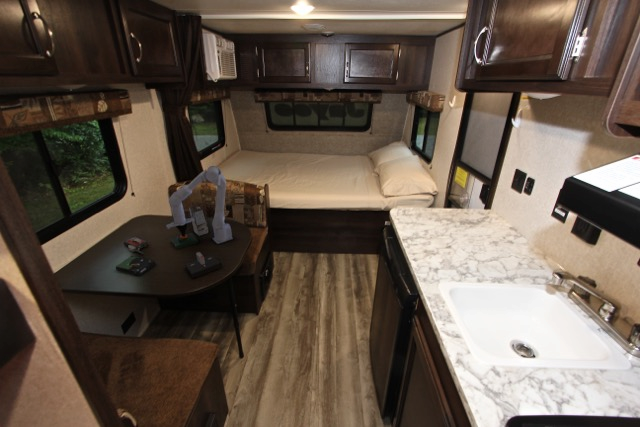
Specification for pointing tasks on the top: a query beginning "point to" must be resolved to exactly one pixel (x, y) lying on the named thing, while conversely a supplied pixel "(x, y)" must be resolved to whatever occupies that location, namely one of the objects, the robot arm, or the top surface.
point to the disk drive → (135, 265)
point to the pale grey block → (200, 258)
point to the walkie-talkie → (135, 244)
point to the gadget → (202, 266)
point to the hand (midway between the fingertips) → (183, 235)
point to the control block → (184, 241)
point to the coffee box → (199, 220)
